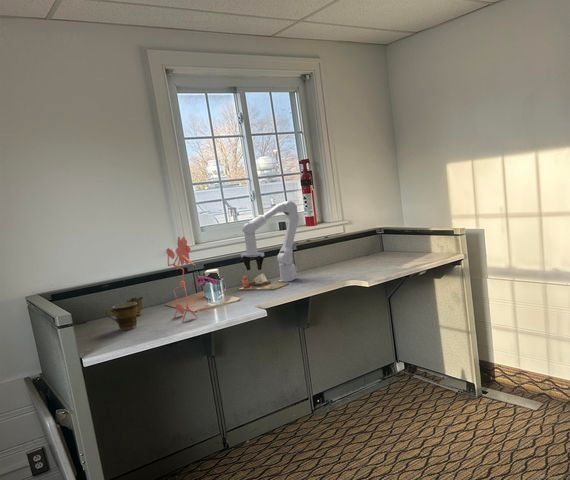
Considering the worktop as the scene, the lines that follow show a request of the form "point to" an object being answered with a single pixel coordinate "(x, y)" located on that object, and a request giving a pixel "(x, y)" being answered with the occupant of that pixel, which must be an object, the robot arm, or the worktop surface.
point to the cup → (139, 304)
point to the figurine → (183, 256)
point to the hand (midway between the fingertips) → (254, 270)
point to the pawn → (245, 282)
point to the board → (263, 286)
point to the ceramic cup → (125, 315)
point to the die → (260, 279)
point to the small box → (212, 272)
